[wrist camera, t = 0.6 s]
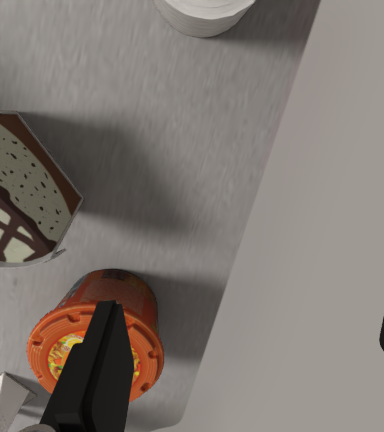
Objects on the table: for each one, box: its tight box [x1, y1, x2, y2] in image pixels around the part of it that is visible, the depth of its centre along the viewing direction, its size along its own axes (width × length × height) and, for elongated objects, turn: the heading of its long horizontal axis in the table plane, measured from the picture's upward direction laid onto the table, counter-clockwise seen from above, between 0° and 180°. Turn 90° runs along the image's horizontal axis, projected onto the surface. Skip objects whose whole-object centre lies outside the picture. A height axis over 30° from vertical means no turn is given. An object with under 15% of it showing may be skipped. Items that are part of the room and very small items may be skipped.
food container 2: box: [27, 269, 164, 402], centre depth 41 cm, size 16×16×11 cm
